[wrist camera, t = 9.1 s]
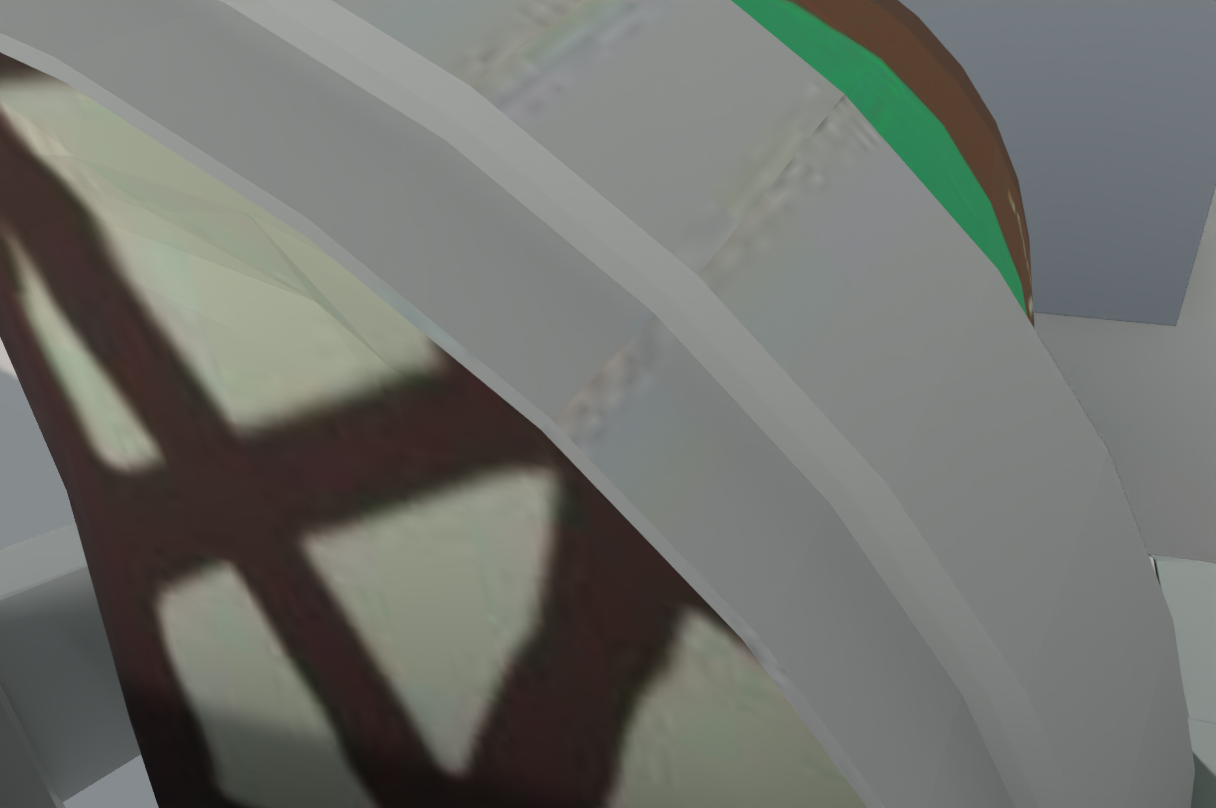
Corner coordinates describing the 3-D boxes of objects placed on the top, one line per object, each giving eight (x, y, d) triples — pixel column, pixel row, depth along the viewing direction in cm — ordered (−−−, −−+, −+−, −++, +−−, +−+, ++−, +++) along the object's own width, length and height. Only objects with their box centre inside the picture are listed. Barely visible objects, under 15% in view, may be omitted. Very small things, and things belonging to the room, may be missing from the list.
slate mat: (1332, -266, 19) (1343, -267, 18) (1171, 312, 25) (1175, 326, 24) (581, -220, 23) (569, -220, 22) (606, 258, 29) (596, 269, 29)
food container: (1077, 682, 15) (1049, 1707, 7) (685, 607, 17) (335, 1302, 9) (1241, -348, 9) (2563, -1516, 1) (599, -238, 11) (-604, -273, 3)
